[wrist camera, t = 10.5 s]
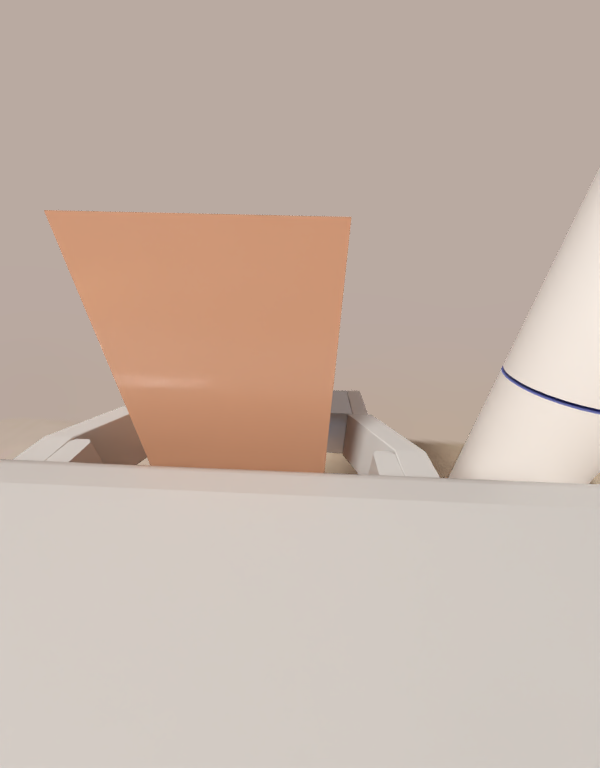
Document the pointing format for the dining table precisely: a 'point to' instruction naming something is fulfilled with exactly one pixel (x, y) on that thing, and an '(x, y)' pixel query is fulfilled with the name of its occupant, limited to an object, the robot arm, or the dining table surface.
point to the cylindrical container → (549, 375)
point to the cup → (216, 329)
